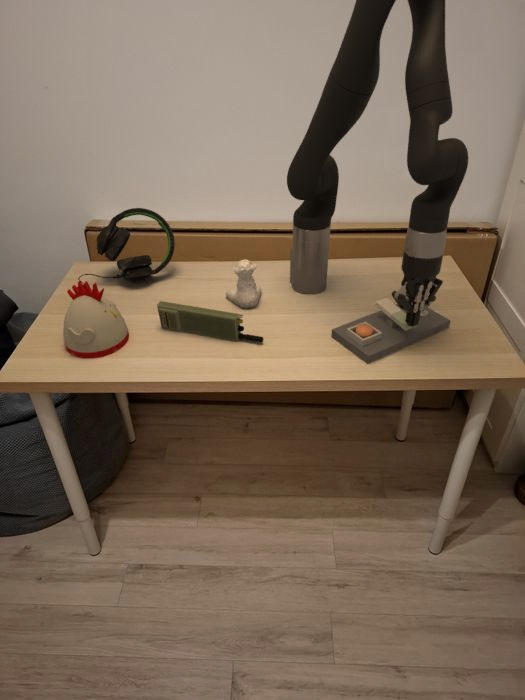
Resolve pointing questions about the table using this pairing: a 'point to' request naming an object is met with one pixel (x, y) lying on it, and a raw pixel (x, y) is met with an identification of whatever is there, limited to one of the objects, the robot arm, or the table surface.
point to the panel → (387, 334)
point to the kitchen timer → (93, 324)
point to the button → (364, 330)
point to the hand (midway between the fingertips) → (411, 324)
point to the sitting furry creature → (245, 286)
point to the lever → (429, 304)
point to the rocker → (393, 313)
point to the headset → (116, 239)
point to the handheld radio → (203, 322)
